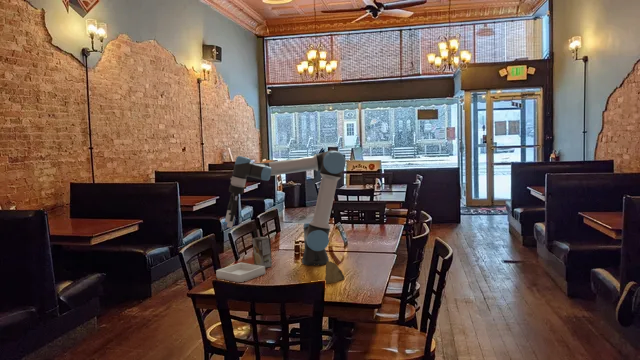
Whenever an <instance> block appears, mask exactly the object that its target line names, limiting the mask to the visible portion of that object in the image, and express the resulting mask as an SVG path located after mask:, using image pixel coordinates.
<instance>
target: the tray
mask: <svg viewBox="0 0 640 360" xmlns="http://www.w3.org/2000/svg"><path fill="white" fill-rule="evenodd" d="M215 272H216V273H215V274H216V279H221V280H224V279H225V281H230V282H234V283H239V282H242V283H244V281H245V282H247V281H250V280H252V279H255V278H258V277H260V276H263V275H266V268H265V266H260V265H254V263H248V262H238V263H235V264H232V265H230V266H226V267H223V268H218V269H217V270H215Z"/></svg>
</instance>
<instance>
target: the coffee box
mask: <svg viewBox="0 0 640 360" xmlns="http://www.w3.org/2000/svg"><path fill="white" fill-rule="evenodd" d="M271 243H272V242H271V238H270V237H266V236H257V237H253V238H252V245H253V246H252V249H253V250H252V251H253V264H254V265H260V266H265V269H266V268H269V267H272V266H273V262H272V261H273V260H272V258H273V257H272V244H271Z"/></svg>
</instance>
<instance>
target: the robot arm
mask: <svg viewBox="0 0 640 360" xmlns="http://www.w3.org/2000/svg"><path fill="white" fill-rule="evenodd" d="M251 161H252V160H251V158H249V157H246V156H242V155H238V156H237V157H236V159H235V163H234V166H233V169H232V175H231V177H230V178H229V179H230V185H229V187H228V192H230V197H229V202H228V205H227V210H226V215H225V220H224V222H225V223H227V225H226V228H230V229H232V228H233V226H234V222H235V217H236V216H237V209H238V204H239V199H240V196H239V195H243V193H244V190H245V187H246V183H247V177H250V178H253V179H257V180H262V181H267V182H269V180H270V179H271V176H279V175H284V174H285V175H286V174H292V173H293V174H294V173H295V174H296V173H300V172H307V171H316V172H319V174H320V176H321V180H320V185H319V190H318V193H317V199H316V204H315V209H314V213H313V217H312V221H310V222H305V223H303V228H302V229H303V240H304V251H303V255H302V258H301V261H302V264H303V265H305V266H313V267H314V266H323V265H326V262H327V261H330V260H329V256H328V253H327V250H326V248H327V247H328V245H329V243H330V237H329V236H330V231H331V226H330V224H329V223H330V217H331V213H332V210H333V209H332V207H333V203H334V199H335V194H336V189H337V184H338V181H339V180H340V179H342V176H343V171H344V169H345V167H346V164H347V163H346V158H345V156H344V155H343V154H342V152H340V151H338V150H327V151H324V152H319V153H315V154H314V155H313V156H304V157H300V158H299V157H298V158H292V159H291V158H290V159H286V160H285V159H284V160H278V161H270V162H263V163H261V162H260V163H254V162H251Z"/></svg>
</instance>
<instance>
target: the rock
mask: <svg viewBox="0 0 640 360" xmlns="http://www.w3.org/2000/svg"><path fill="white" fill-rule="evenodd" d="M324 277H325V278H324V281H325V280H326V283H327V284H332V283H336V282H340V281H343V280H344V279H345V275H344V273H343V271H342V270H341V269H340V268H339V266H338V265H337V263H334V262H333V261H330V260H329V261H327V262H326V264H325V276H324ZM326 283H325V284H326ZM327 284H326V285H327Z"/></svg>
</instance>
